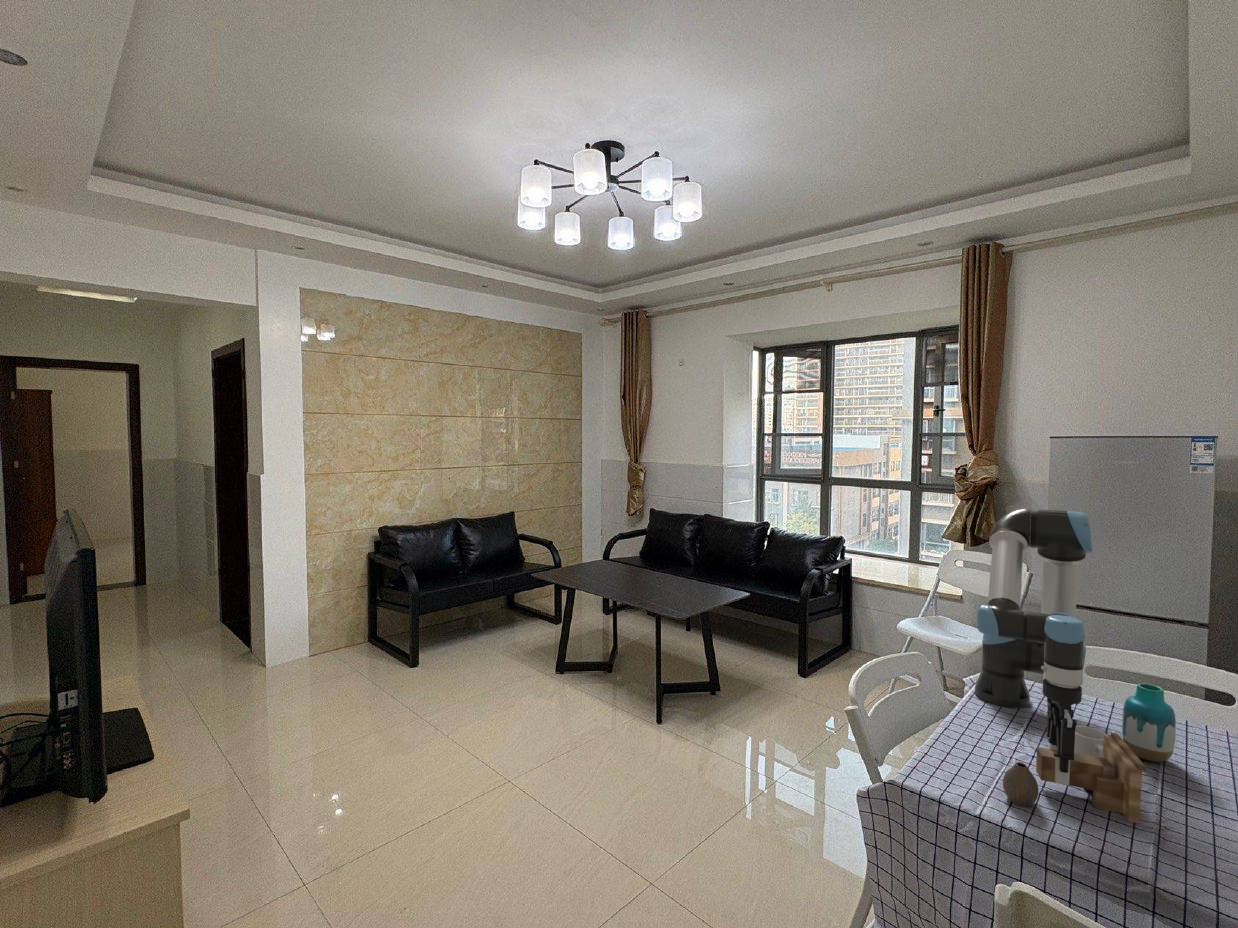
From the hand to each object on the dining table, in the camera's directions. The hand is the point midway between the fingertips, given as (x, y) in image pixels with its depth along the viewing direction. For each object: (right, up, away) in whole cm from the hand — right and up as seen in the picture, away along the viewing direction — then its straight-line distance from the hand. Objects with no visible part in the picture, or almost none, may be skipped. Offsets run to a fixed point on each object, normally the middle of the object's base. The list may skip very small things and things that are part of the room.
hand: (1058, 777), depth 145 cm
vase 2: (+35, -3, +15) cm, 38 cm away
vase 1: (-12, -4, -4) cm, 13 cm away
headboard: (+9, -3, -3) cm, 10 cm away
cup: (+17, -3, +12) cm, 21 cm away
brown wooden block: (+3, 0, -1) cm, 3 cm away
